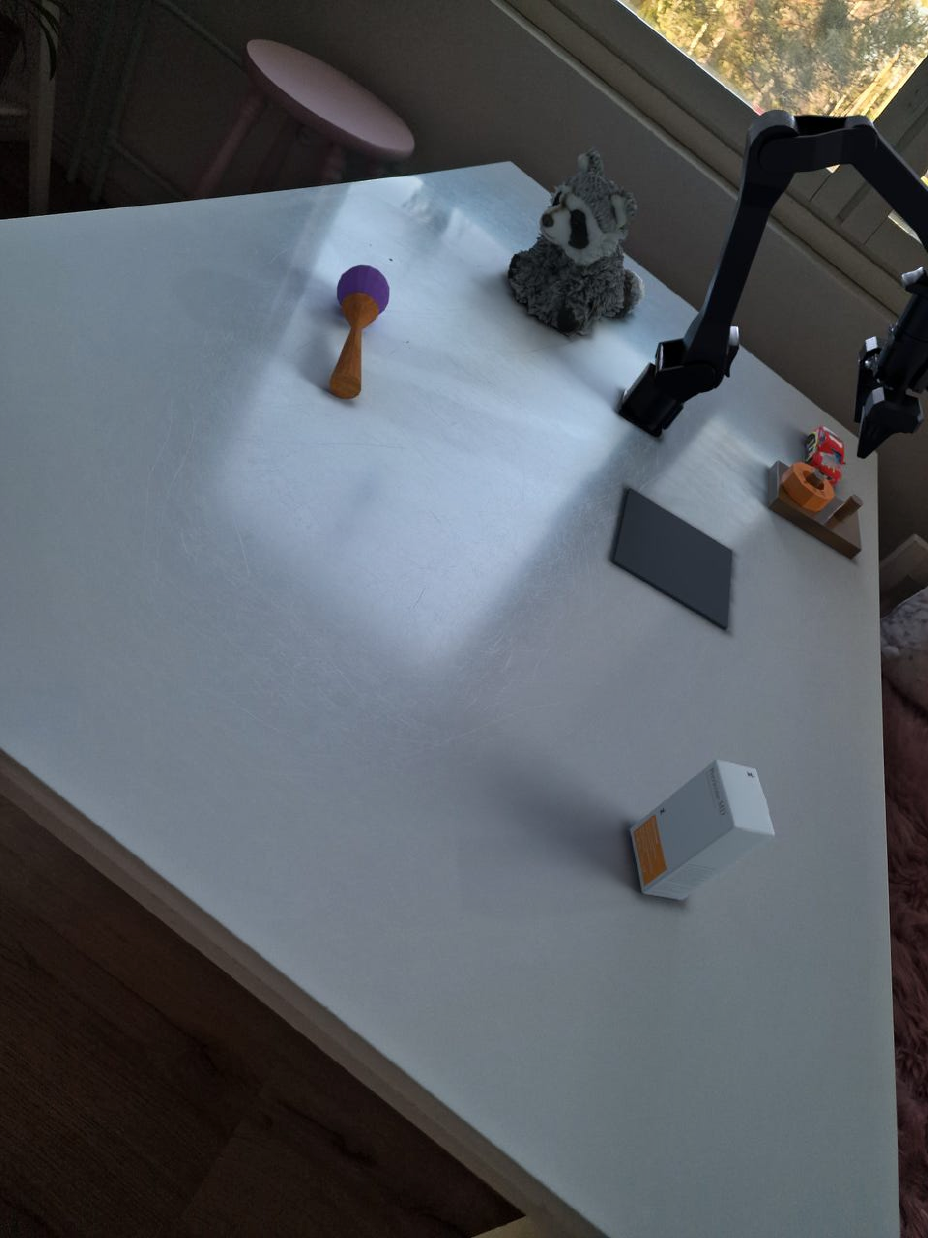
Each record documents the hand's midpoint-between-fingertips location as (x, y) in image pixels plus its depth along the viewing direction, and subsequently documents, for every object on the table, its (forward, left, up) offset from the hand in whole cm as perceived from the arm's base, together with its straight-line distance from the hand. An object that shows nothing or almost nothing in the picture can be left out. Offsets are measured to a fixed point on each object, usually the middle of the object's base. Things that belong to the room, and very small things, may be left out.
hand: (858, 439), depth 130 cm
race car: (+5, +16, -13) cm, 21 cm away
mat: (-17, -28, -13) cm, 35 cm away
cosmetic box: (-15, -71, -13) cm, 73 cm away
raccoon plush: (-41, +17, -13) cm, 47 cm away
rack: (+3, 0, -13) cm, 13 cm away
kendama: (-61, -26, -13) cm, 68 cm away
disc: (0, 0, -11) cm, 11 cm away
